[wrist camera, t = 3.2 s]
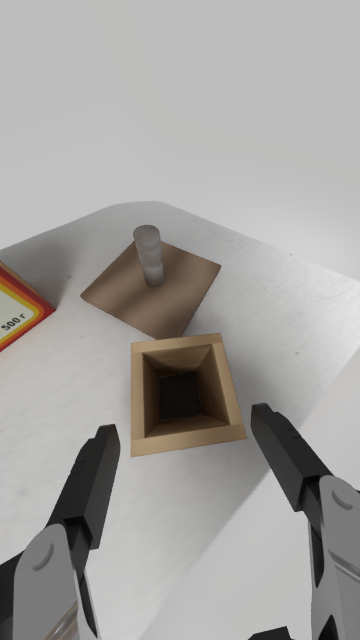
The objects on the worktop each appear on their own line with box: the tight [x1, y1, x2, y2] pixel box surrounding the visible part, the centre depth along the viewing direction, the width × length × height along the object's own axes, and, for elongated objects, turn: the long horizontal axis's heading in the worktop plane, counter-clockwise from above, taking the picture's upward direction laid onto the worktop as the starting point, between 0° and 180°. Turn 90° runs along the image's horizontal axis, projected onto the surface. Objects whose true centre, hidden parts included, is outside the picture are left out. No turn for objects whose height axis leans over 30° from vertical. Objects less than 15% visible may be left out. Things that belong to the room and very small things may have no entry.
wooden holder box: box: [131, 333, 247, 457], centre depth 13 cm, size 5×5×10 cm
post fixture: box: [80, 225, 221, 340], centre depth 20 cm, size 14×14×8 cm
